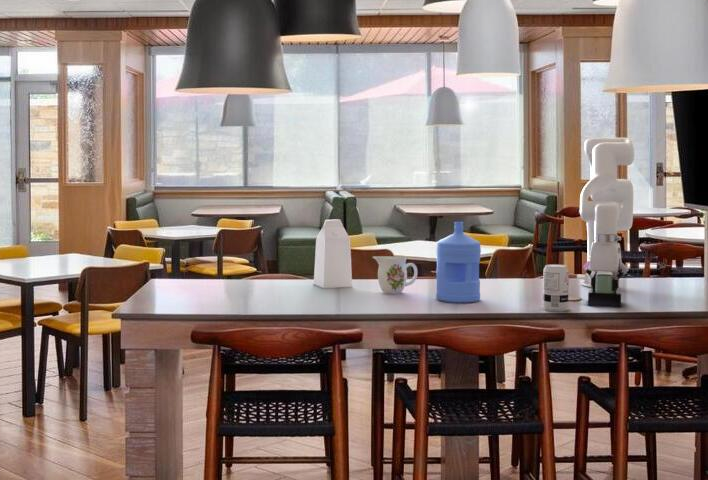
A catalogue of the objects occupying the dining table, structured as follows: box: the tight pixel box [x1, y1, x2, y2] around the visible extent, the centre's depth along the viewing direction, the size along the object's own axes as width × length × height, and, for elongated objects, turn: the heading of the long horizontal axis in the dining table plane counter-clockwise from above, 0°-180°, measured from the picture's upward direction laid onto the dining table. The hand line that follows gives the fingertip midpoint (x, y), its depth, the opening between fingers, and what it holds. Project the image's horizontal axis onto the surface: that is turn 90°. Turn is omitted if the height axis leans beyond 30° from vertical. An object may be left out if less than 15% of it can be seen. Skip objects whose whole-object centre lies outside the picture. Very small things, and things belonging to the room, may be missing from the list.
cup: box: [595, 274, 614, 293], centre depth 340 cm, size 6×6×10 cm
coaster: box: [568, 295, 582, 302], centre depth 352 cm, size 10×10×1 cm
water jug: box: [435, 221, 482, 304], centre depth 348 cm, size 16×16×28 cm
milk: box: [313, 219, 353, 289], centre depth 383 cm, size 12×12×26 cm
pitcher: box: [372, 255, 419, 295], centre depth 365 cm, size 11×18×14 cm, turn 104°
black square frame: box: [587, 287, 622, 308], centre depth 340 cm, size 11×11×5 cm
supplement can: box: [542, 263, 570, 312], centre depth 328 cm, size 8×8×15 cm
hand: (604, 289), depth 340 cm, fingers closed on cup, 6 cm apart
